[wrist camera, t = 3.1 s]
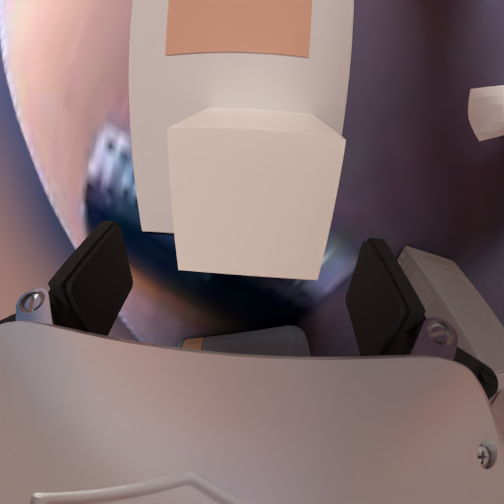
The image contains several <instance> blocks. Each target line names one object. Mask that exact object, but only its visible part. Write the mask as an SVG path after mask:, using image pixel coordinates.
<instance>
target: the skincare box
mask: <svg viewBox="0 0 504 504" xmlns="http://www.w3.org/2000/svg"><path fill="white" fill-rule="evenodd" d="M397 261H398V263H399V265H400V266H401V268H402V269H403V271H404V273H405V274H406V276H407V278H408V280H409V281H410V283H411V285H412V286H413V288H414V290H415V292H416V294H417V295H418V297H419V299H420V301H421V303H422V304H423V306H424V308H425V310H426V312H425V313H424V315H425V316H426V318H427V319H428V318H431V317H437V318H441V319H443V320H445V321H447V322H448V323H450V324H451V325H452V326H453V327H454V329H455V331H456V332H457V336H458V344H457V347H459V348H460V349H462V350H464V351H465V352H467V353H468V354H470V355H472V356H473V357H475V358H476V359H478V360H479V361H481V362H482V363H484V364H486V365H487V366H489V367H490V368H491V369H492V370H493V371H494V373H495V374H496V376H497V379H498V391H500V390H501V389H503V390H504V328H503V326H502V325H501V323H500V322H499V320H498V319H497V317H496V316H495V314H494V313H493V311H492V310H491V309H490V307H489V306H488V304H487V303H486V302H485V300H484V299H483V298H482V296H481V295H480V294H479V292H478V291H477V290H476V288H475V287H474V286H473V284H472V283H471V282H470V281H469V279H468V278H467V277H466V276H465V274H464V273H463V272H462V271H461V270H460V268H459V267H458V266H457V265H456V263H455V262H454V261H452V260H449V259H446V258H443V257H440V256H437V255H434V254H431V253H428V252H425V251H422V250H418V249H415V248H412V247H408V246H404V248H403V250H402V251H401V253H400V255H399V257H398V258H397Z"/></svg>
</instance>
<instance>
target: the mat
mask: <svg viewBox="0 0 504 504" xmlns="http://www.w3.org/2000/svg"><path fill="white" fill-rule="evenodd" d="M353 14H354V0H133V4H132V14H131V27H130V46H129V109H130V129H131V144H132V156H133V167H134V176H135V185H136V193H137V200H138V208H139V214H140V221H141V227H142V231H148V232H165V233H174V226H173V216H172V204H171V192H170V177H169V160H168V137H167V128H169V127H171V126H173V125H175V124H177V123H179V122H181V121H183V120H185V119H187V118H189V117H191V116H193V115H195V114H197V113H199V112H201V111H203V110H205V109H208V108H239V109H259V110H273V111H284V112H294V113H303V114H311V115H314V116H315V117H317V118H318V119H320V120H321V121H322V122H324V123H325V124H326V125H328V126H329V127H330V128H332V129H333V130H334V131H335V132H337V133H338V134H339V135H341V136H342V130H343V123H344V116H345V108H346V100H347V91H348V82H349V72H350V61H351V48H352V34H353Z"/></svg>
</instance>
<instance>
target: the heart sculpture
mask: <svg viewBox="0 0 504 504" xmlns="http://www.w3.org/2000/svg"><path fill="white" fill-rule="evenodd" d="M468 118H469V121H470V124H471V127H472V129H473V131H474V133H475V135H476V137H477V138H478V140H479V141H483V140H487V139H490V138H494V137H498V136H503V135H504V85H501V86H491V87H482V88H474V89H470V95H469V103H468Z"/></svg>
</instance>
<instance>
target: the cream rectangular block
mask: <svg viewBox="0 0 504 504" xmlns="http://www.w3.org/2000/svg"><path fill="white" fill-rule="evenodd" d="M167 137H168V160H169V177H170V192H171V204H172V216H173V226H174V236H175V245H176V253H177V262H178V269H179V270H186V271H197V272H209V273H221V274H234V275H247V276H261V277H275V278H290V279H306V280H318V276H319V272H320V268H321V264H322V260H323V256H324V252H325V247H326V243H327V239H328V234H329V230H330V225H331V220H332V215H333V211H334V206H335V201H336V196H337V190H338V185H339V180H340V174H341V168H342V163H343V157H344V151H345V144H346V139H344V138H343V137H342V136H341V135H339V134H338V133H337V132H335V131H334V130H333V129H332V128H330V127H329V126H328V125H326V124H325V123H324V122H322V121H321V120H320V119H318V118H317V117H315V116H314V115H311V114H303V113H294V112H284V111H273V110H259V109H239V108H208V109H205V110H203V111H201V112H199V113H197V114H195V115H193V116H191V117H189V118H187V119H185V120H183V121H181V122H179V123H177V124H175V125H173V126H171V127H169V128H167Z"/></svg>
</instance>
